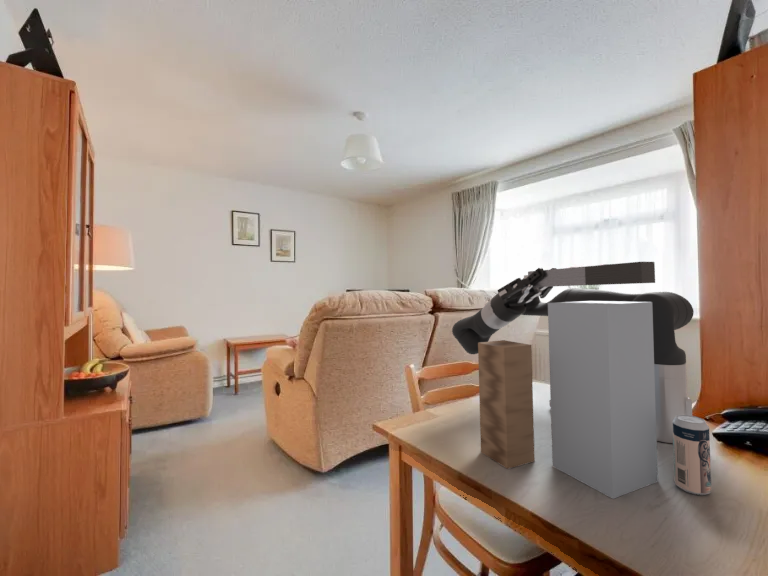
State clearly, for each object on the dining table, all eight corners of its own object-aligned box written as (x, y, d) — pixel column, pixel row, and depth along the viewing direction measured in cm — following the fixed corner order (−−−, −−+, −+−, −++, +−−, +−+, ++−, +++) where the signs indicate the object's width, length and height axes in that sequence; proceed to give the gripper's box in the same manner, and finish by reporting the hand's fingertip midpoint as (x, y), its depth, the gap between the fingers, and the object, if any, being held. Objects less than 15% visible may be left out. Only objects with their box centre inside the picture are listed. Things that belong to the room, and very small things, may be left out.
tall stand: (594, 453, 74) (590, 300, 74) (657, 481, 63) (652, 301, 63) (552, 466, 69) (547, 302, 70) (612, 498, 58) (607, 304, 59)
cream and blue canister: (714, 500, 57) (712, 426, 57) (676, 492, 60) (674, 420, 60) (707, 486, 61) (705, 416, 61) (672, 479, 64) (670, 412, 64)
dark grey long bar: (521, 287, 81) (521, 272, 82) (533, 287, 83) (532, 272, 83) (641, 283, 58) (641, 261, 58) (655, 282, 59) (654, 261, 59)
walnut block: (480, 452, 76) (477, 342, 76) (506, 445, 79) (503, 340, 79) (507, 468, 69) (504, 347, 69) (534, 461, 72) (531, 344, 72)
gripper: (529, 320, 91) (581, 285, 77) (485, 324, 85) (532, 286, 72) (518, 295, 94) (565, 257, 81) (474, 297, 89) (517, 256, 75)
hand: (549, 271), depth 76 cm, fingers closed on dark grey long bar, 3 cm apart
